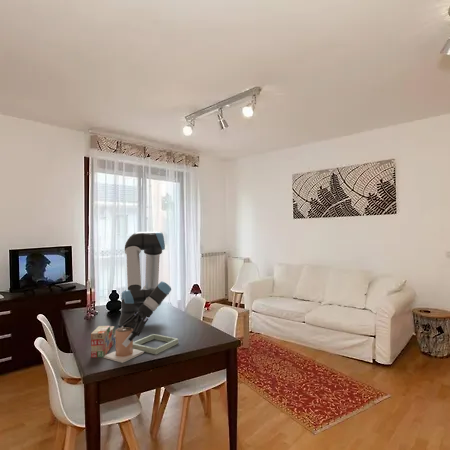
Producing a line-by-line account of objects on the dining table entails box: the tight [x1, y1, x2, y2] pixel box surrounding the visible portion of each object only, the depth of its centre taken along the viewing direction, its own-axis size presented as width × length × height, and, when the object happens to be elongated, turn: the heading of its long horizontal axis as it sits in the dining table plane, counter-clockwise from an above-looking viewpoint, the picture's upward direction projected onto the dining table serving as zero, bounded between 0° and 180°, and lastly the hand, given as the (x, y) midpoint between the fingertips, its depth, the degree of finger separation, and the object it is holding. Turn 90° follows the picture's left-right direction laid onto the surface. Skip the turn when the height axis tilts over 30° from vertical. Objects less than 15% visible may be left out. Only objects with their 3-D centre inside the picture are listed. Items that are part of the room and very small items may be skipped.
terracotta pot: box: [115, 327, 134, 357], centre depth 165 cm, size 8×8×12 cm
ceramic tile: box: [103, 349, 145, 364], centre depth 165 cm, size 13×14×1 cm
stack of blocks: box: [90, 325, 116, 358], centre depth 174 cm, size 21×6×12 cm, turn 4°
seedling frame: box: [133, 333, 179, 355], centre depth 179 cm, size 18×18×2 cm
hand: (119, 341), depth 164 cm, fingers open, 13 cm apart
